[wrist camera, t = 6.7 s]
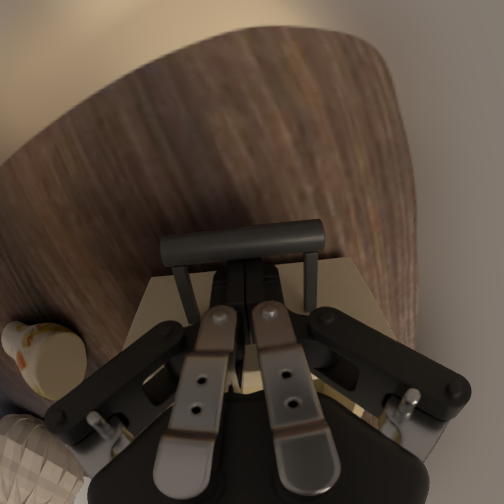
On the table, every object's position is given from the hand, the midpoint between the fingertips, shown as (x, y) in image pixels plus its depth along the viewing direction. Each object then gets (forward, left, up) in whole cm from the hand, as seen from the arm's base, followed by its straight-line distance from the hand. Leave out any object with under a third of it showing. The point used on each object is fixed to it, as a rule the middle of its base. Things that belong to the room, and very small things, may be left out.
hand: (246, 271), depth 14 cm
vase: (+36, -43, -5) cm, 56 cm away
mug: (+9, -21, -5) cm, 23 cm away
